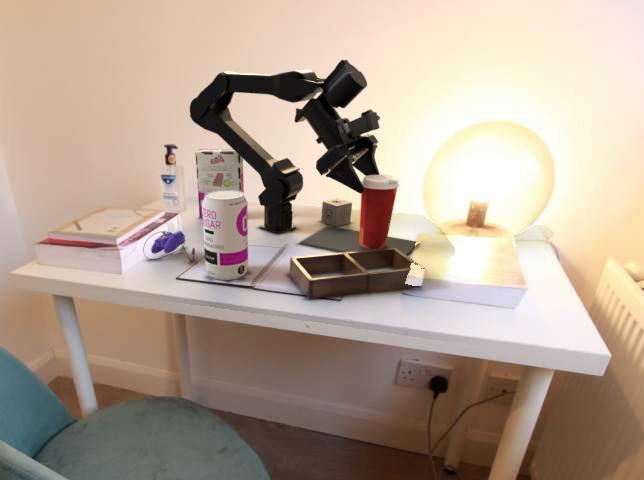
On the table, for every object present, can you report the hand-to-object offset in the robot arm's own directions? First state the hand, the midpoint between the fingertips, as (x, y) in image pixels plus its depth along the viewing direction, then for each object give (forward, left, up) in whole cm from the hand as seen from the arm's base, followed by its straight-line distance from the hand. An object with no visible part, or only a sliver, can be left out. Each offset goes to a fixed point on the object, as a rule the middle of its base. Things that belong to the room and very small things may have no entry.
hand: (371, 187), depth 101 cm
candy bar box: (-38, -10, -13) cm, 42 cm away
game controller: (-21, -35, -13) cm, 43 cm away
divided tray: (+11, -17, -12) cm, 24 cm away
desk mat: (-1, 0, -12) cm, 12 cm away
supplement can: (-7, -32, -13) cm, 35 cm away
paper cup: (+2, +1, -12) cm, 12 cm away
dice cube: (-15, +8, -13) cm, 21 cm away
